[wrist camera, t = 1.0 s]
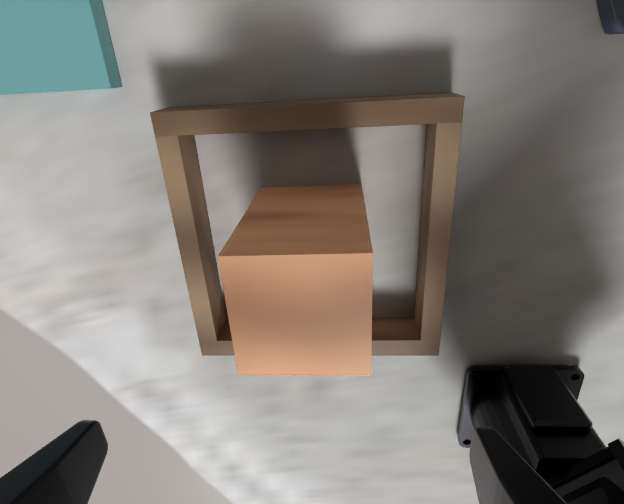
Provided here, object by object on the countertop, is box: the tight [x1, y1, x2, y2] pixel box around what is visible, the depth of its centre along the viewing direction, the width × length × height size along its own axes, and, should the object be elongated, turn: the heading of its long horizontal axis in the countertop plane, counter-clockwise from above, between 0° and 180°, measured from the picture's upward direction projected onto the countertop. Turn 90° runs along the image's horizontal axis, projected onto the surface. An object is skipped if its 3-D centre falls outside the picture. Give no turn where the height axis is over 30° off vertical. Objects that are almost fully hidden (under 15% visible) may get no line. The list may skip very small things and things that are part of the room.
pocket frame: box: [150, 93, 465, 355], centre depth 20 cm, size 13×13×2 cm
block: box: [218, 184, 373, 376], centre depth 18 cm, size 5×5×8 cm
